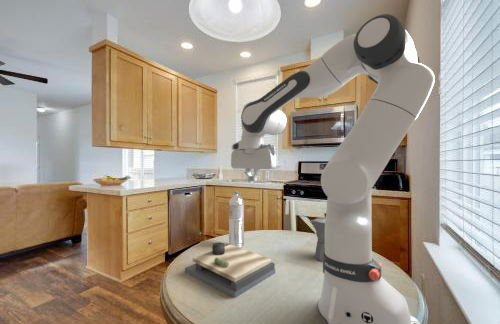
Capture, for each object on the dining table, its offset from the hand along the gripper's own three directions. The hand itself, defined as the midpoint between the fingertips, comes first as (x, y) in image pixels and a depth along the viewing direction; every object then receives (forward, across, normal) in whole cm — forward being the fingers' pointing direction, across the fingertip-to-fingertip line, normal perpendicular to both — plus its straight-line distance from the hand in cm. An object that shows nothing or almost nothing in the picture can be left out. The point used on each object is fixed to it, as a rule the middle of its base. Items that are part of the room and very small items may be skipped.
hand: (252, 180), depth 90 cm
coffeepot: (+31, -21, -23) cm, 44 cm away
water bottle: (+31, +16, -8) cm, 36 cm away
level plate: (+27, -1, +12) cm, 30 cm away
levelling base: (+31, 0, +12) cm, 33 cm away
